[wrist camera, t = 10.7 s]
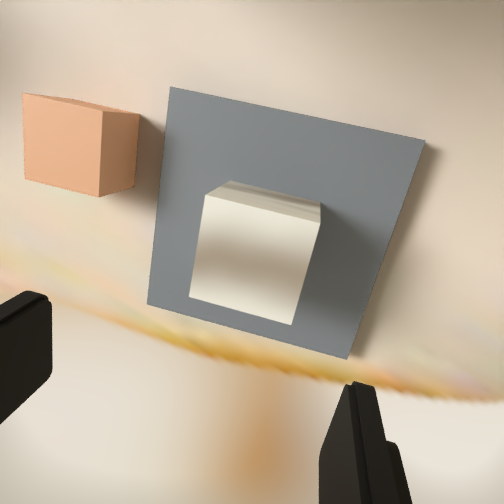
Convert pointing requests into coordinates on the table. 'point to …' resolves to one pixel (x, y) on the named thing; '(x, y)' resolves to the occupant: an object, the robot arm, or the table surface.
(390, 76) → the table surface
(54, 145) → the terracotta block
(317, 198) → the base board
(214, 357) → the table surface
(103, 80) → the table surface
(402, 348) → the table surface
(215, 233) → the cream block
